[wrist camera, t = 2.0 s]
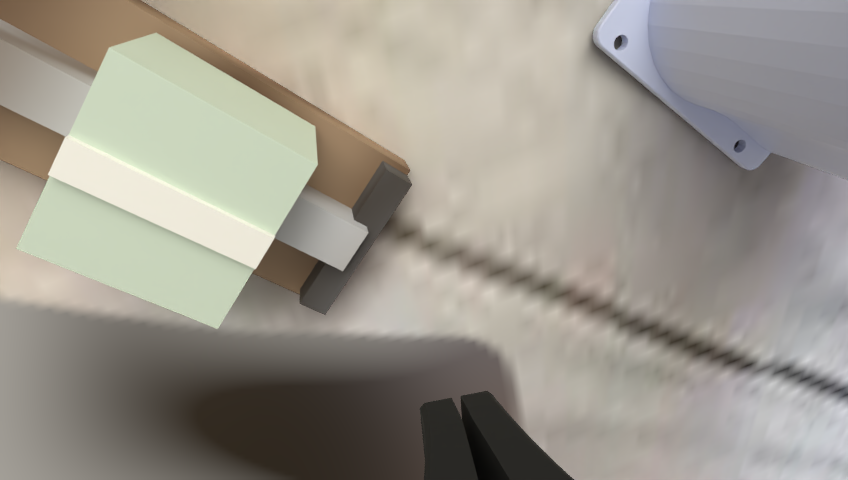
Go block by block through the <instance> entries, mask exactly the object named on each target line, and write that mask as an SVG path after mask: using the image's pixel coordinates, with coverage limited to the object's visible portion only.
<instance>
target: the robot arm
mask: <svg viewBox="0 0 848 480" xmlns="http://www.w3.org/2000/svg"><path fill="white" fill-rule="evenodd" d="M619 35H620V36H621V37H622V44H621V46H620V47H619V48H618V49H615V47H614V41H615V39H616V38H617V37H618V36H619ZM593 40H594V43H595V44H596V46H597V47H598V48H600V49H601V50H602V51H603V52H604V53H606V54H607V55H608V56H609V57H610V58H611V59H613V60H614V61H615V62H616V63H617V64H619V65H620V66H621V67H622V68H623V69H625V70H626V71H627V72H628V73H629V74H630V75H632V76H633V77H634V78H635V79H636V80H638V81H639V82H640V83H641V84H642V85H644V86H645V87H646V88H647V89H648V90H649V91H651V92H652V93H653V94H654V95H655V96H657V97H658V98H659V99H660V100H661V101H663V102H664V103H665V104H666V105H667V106H668V107H670V108H671V109H672V110H673V111H674V112H676V113H677V114H678V115H679V116H680V117H682V118H683V119H684V120H685V121H686V122H687V123H689V124H690V125H691V126H692V127H693V128H695V129H696V130H697V131H698V132H699V133H701V134H702V135H703V136H704V137H705V138H706V139H708V140H709V141H710V142H711V143H712V144H714V145H715V146H716V147H717V148H718V149H720V150H721V151H722V152H723V153H724V154H725V155H727V156H728V157H729V158H730V159H731V160H733V161H734V162H735V163H736V164H737V165H739V166H740V167H742V168H744V169H747V170H754V169H756V168H758V167H759V166H760V165H761V164H762V163H763V161H764V160H765V159H766V158H767V157H768V156H769V154H770V153H774V154H777V155H780V156H782V157H785V158H788V159H791V160H793V161H796V162H799V163H802V164H805V165H807V166H810V167H813V168H816V169H819V170H821V171H824V172H827V173H830V174H832V175H835V176H838V177H841V178H844V179H846V180H848V0H614V1H613V2H612V3H611V5H610V6H609V8H608V9H607V11H606V12H605V13H604V15H603V16H602V18H601V19H600V20H599V22H598V23H597V25H596V26H595V29H594V31H593ZM737 141H739V144H738V146H737V147H736V148H735V149H734V145H735V143H736V142H737ZM461 410H462V419H461V417H460V414H459V413H458V410H457V408H456V406H455V404H454V402H453V400H452V398H448V399H443V400H438V401H433V402H428V403H424V404H423V406H421V408H420V414H421V424H422V434H423V443H424V454H425V473H424V474H425V475H424V480H574V479H573V478H572V477H570V476H569V475H568V474H567V473H566V472H565V471H564V470H563V469H562V468H561V467H559V466H558V465H557V464H556V463H555V462H554V461H553V460H552V459H551V458H550V457H549V456H548V455H547V454H546V453H545V452H544V451H543V450H542V449H541V448H540V447H539V446H538V445H537V444H536V443H535V442H534V441H533V440H532V439H531V438H530V437H529V436H528V435H527V434H526V433H525V432H524V431H523V429H522V428H521V427H520V426H519V425H518V424H517V423H516V422H515V421H514V420H513V419H512V417H511V416H510V415H509V414H508V413H507V412H506V411H505V410H504V408H503V407H502V406H501V405H500V404H499V402H498V401H497V400H496V399H495V397H494V396H493V395H492V394H491V393H489V392H488V391H484V392H479V393H474V394H469V395H463V396H461Z"/></svg>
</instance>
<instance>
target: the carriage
mask: <svg viewBox="0 0 848 480" xmlns="http://www.w3.org/2000/svg"><path fill="white" fill-rule="evenodd" d="M317 165H318V160H317V144H316V129H315V126H314V125H312V124H310V123H309V122H307V121H305V120H304V119H302V118H300V117H299V116H297V115H295V114H293V113H292V112H290V111H288V110H287V109H285V108H283V107H282V106H280V105H278V104H277V103H275V102H273V101H271V100H270V99H268V98H266V97H265V96H263V95H261V94H260V93H258V92H256V91H255V90H253V89H251V88H249V87H248V86H246V85H244V84H243V83H241V82H239V81H238V80H236V79H234V78H232V77H231V76H229V75H227V74H226V73H224V72H222V71H221V70H219V69H217V68H216V67H214V66H212V65H210V64H209V63H207V62H205V61H204V60H202V59H200V58H199V57H197V56H195V55H194V54H192V53H190V52H188V51H187V50H185V49H183V48H182V47H180V46H178V45H177V44H175V43H173V42H171V41H170V40H168V39H166V38H165V37H163V36H161V35H160V34H158V33H153V34H150V35H147V36H144V37H141V38H137V39H134V40H131V41H128V42H125V43H122V44H118V45H115V46H112V47H109V49H108V51H107V53H106V55H105V57H104V59H103V62H102V64H101V66H100V68H99V70H98V72H97V75H96V77H95V79H94V81H93V83H92V85H91V88H90V90H89V92H88V94H87V96H86V98H85V101H84V103H83V105H82V107H81V109H80V111H79V114H78V116H77V118H76V120H75V122H74V124H73V126H72V129H71V131H70V133H69V135H68V136H66V137H65V138H64V141H63V143H62V145H61V147H60V149H59V151H58V154H57V156H56V158H55V160H54V162H53V164H52V167H51V169H50V171H49V173H48V175H49V178H48V181H47V183H46V185H45V187H44V189H43V191H42V194H41V196H40V198H39V200H38V202H37V204H36V207H35V209H34V211H33V213H32V215H31V217H30V220H29V222H28V224H27V226H26V228H25V230H24V233H23V235H22V237H21V239H20V241H19V243H18V246H17V248H16V249H18V250H20V251H23V252H25V253H28V254H30V255H33V256H35V257H38V258H40V259H43V260H46V261H48V262H51V263H53V264H56V265H58V266H61V267H63V268H66V269H68V270H71V271H73V272H76V273H78V274H81V275H83V276H86V277H88V278H91V279H93V280H96V281H98V282H101V283H103V284H106V285H108V286H111V287H113V288H116V289H118V290H121V291H123V292H126V293H128V294H131V295H133V296H136V297H138V298H141V299H143V300H146V301H148V302H151V303H153V304H156V305H158V306H161V307H164V308H166V309H169V310H171V311H174V312H176V313H179V314H181V315H184V316H186V317H189V318H191V319H194V320H196V321H199V322H201V323H204V324H206V325H209V326H211V327H214V328H216V329H218V328H219V326H220V325H221V323H222V321H223V320H224V318H225V316H226V315H227V313H228V311H229V310H230V308H231V306H232V305H233V303H234V302H235V300H236V298H237V297H238V295H239V293H240V292H241V290H242V288H243V287H244V285H245V283H246V282H247V280H248V279H249V277H250V275H251V274H252V272H253V270H254V269H256V268H257V266H258V265H259V263H260V261H261V260H262V258H263V256H264V255H265V253H266V252H267V250H268V248H269V247H270V245H271V243H272V242H273V240H274V237H275V234H276V233H277V231H278V229H279V228H280V226H281V224H282V223H283V221H284V219H285V218H286V216H287V214H288V213H289V211H290V210H291V208H292V206H293V205H294V203H295V201H296V200H297V198H298V196H299V195H300V193H301V191H302V190H303V188H304V187H305V185H306V183H307V182H308V180H309V178H310V177H311V175H312V173H313V172H314V170H315V168H316V167H317Z"/></svg>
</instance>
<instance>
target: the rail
mask: <svg viewBox="0 0 848 480" xmlns="http://www.w3.org/2000/svg"><path fill="white" fill-rule="evenodd" d="M153 33H158V34H160V35H161V36H163V37H165V38H166V39H168V40H170V41H171V42H173V43H175V44H177V45H178V46H180V47H182V48H183V49H185V50H187V51H188V52H190V53H192V54H194V55H195V56H197V57H199V58H200V59H202V60H204V61H205V62H207V63H209V64H210V65H212V66H214V67H216V68H217V69H219V70H221V71H222V72H224V73H226V74H227V75H229V76H231V77H232V78H234V79H236V80H238V81H239V82H241V83H243V84H244V85H246V86H248V87H249V88H251V89H253V90H255V91H256V92H258V93H260V94H261V95H263V96H265V97H266V98H268V99H270V100H271V101H273V102H275V103H277V104H278V105H280V106H282V107H283V108H285V109H287V110H288V111H290V112H292V113H293V114H295V115H297V116H299V117H300V118H302V119H304V120H305V121H307V122H309V123H310V124H312V125H314V126H315V129H316V144H317V160H318V165H317V167H316V168H315V170H314V172H313V173H312V175H311V177H310V178H309V180H308V182H307V183H306V185H305V187H304V188H303V190H302V191H301V193H300V195H299V196H298V198H297V200H296V201H295V203H294V205H293V206H292V208H291V210H290V211H289V213H288V214H287V216H286V218H285V219H284V221H283V223H282V224H281V226H280V228H279V229H278V231H277V233H276V234H275V237H274V240H273V242H272V243H271V245H270V247H269V248H268V250H267V252H266V253H265V255H264V256H263V258H262V260H261V261H260V263H259V265H258V266H257V268H256V269H254V270H253V272H252V273H253V274H255V275H257V276H260V277H262V278H264V279H266V280H269V281H271V282H273V283H275V284H277V285H280V286H282V287H284V288H286V289H288V290H291V291H293V292H295V293H297V294H300V304H302V305H304V306H306V307H309V308H311V309H313V310H315V311H318V312H320V313H322V314H324V315H325V314H326V313H327V311H328V310H329V308H330V307H331V305H332V304H333V302H334V301H335V299H336V298H337V296H338V295H339V293H340V292H341V290H342V289H343V287H344V286H345V284H346V283H347V281H348V280H349V278H350V277H351V275H352V274H353V272H354V271H355V269H356V268H357V266H358V265H359V263H360V262H361V260H362V259H363V257H364V256H365V254H366V253H367V252H368V250H369V249H370V247H371V246H372V244H373V243H374V241H375V240H376V238H377V237H378V235H379V234H380V232H381V231H382V229H383V228H384V226H385V225H386V223H387V222H388V220H389V219H390V217H391V216H392V214H393V213H394V211H395V210H396V208H397V207H398V205H399V204H400V202H401V201H402V199H403V198H404V196H405V195H406V193H407V192H408V190H409V189H410V187H411V186H412V184H411V182H410V180H409V178H408V176H407V175H408V173H409V172H410V169H409V167H408V166H407V164H406V162H405V160H403V159H401V158H400V157H398V156H396V155H395V154H393V153H392V152H390V151H388V150H387V149H385V148H383V147H382V146H380V145H378V144H377V143H375V142H373V141H372V140H370V139H368V138H367V137H365V136H363V135H362V134H360V133H359V132H357V131H355V130H354V129H352V128H350V127H349V126H347V125H345V124H344V123H342V122H340V121H339V120H337V119H335V118H334V117H332V116H330V115H329V114H327V113H326V112H324V111H322V110H321V109H319V108H317V107H316V106H314V105H312V104H311V103H309V102H307V101H306V100H304V99H302V98H301V97H299V96H297V95H296V94H294V93H293V92H291V91H289V90H288V89H286V88H284V87H283V86H281V85H279V84H278V83H276V82H274V81H273V80H271V79H269V78H268V77H266V76H264V75H263V74H261V73H260V72H258V71H256V70H255V69H253V68H251V67H250V66H248V65H246V64H245V63H243V62H241V61H240V60H238V59H236V58H235V57H233V56H232V55H230V54H228V53H227V52H225V51H223V50H222V49H220V48H218V47H217V46H215V45H213V44H212V43H210V42H208V41H207V40H205V39H203V38H202V37H200V36H199V35H197V34H195V33H194V32H192V31H190V30H189V29H187V28H185V27H184V26H182V25H180V24H179V23H177V22H175V21H174V20H172V19H170V18H169V17H167V16H166V15H164V14H162V13H161V12H159V11H157V10H156V9H154V8H152V7H151V6H149V5H147V4H146V3H144V2H142V1H141V0H0V160H2V161H5V162H7V163H9V164H11V165H14V166H16V167H18V168H20V169H22V170H25V171H27V172H29V173H31V174H33V175H36V176H38V177H40V178H42V179H45V180H47V181H48V178H49V175H48V173H49V171H50V169H51V167H52V164H53V162H54V160H55V158H56V156H57V154H58V151H59V149H60V147H61V145H62V143H63V141H64V138H65V137H66V136H68V135H69V133H70V131H71V129H72V126H73V124H74V122H75V120H76V118H77V116H78V114H79V111H80V109H81V107H82V105H83V103H84V101H85V98H86V96H87V94H88V92H89V90H90V88H91V85H92V83H93V81H94V79H95V77H96V75H97V72H98V70H99V68H100V66H101V64H102V62H103V59H104V57H105V55H106V53H107V51H108V49H109V47H112V46H115V45H118V44H122V43H125V42H128V41H131V40H134V39H137V38H141V37H144V36H147V35H150V34H153Z"/></svg>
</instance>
